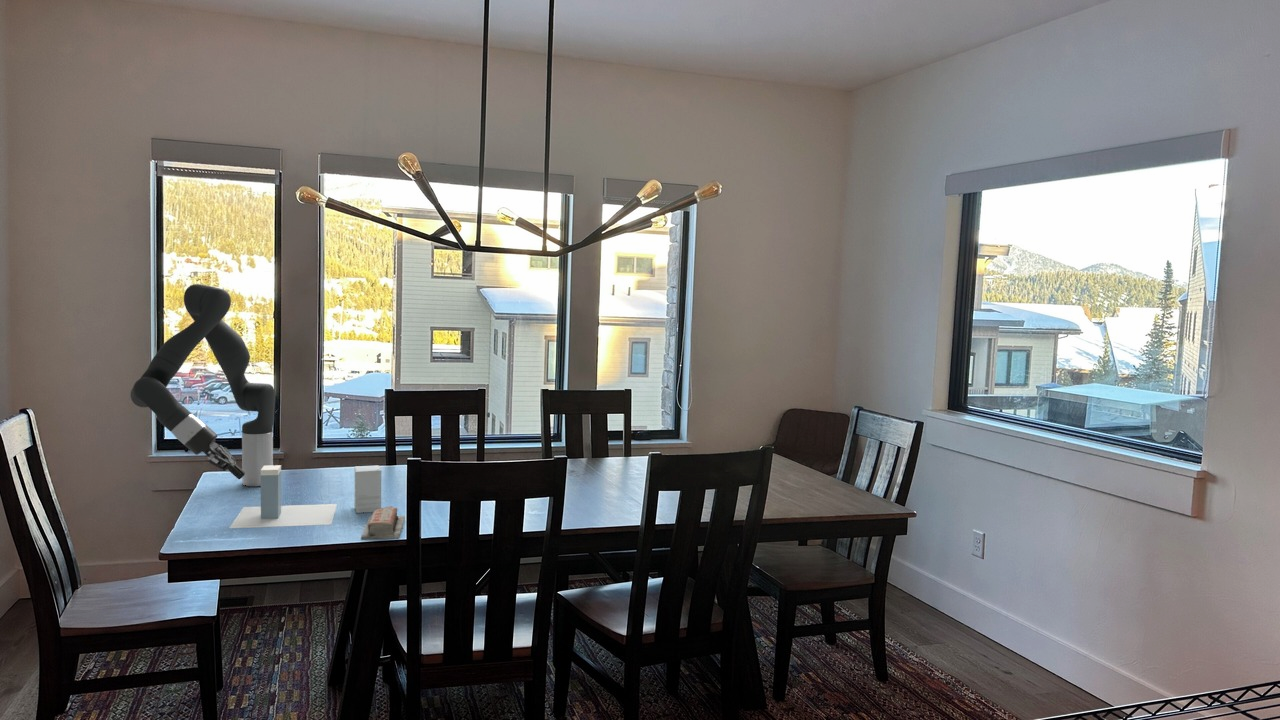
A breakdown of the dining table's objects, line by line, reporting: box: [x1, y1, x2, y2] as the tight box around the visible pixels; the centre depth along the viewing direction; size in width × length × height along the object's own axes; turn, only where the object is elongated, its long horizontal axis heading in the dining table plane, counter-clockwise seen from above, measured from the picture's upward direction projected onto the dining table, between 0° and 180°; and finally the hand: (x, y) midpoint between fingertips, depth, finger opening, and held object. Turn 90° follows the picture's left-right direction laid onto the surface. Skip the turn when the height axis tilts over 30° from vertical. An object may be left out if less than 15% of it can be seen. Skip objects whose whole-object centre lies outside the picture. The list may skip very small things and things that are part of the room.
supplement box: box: [354, 464, 382, 514], centre depth 252 cm, size 7×7×13 cm
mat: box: [228, 503, 338, 529], centre depth 241 cm, size 22×26×1 cm
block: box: [260, 464, 282, 519], centre depth 240 cm, size 6×4×14 cm
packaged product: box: [360, 506, 406, 540], centre depth 233 cm, size 18×5×10 cm
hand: (242, 476), depth 237 cm, fingers closed
